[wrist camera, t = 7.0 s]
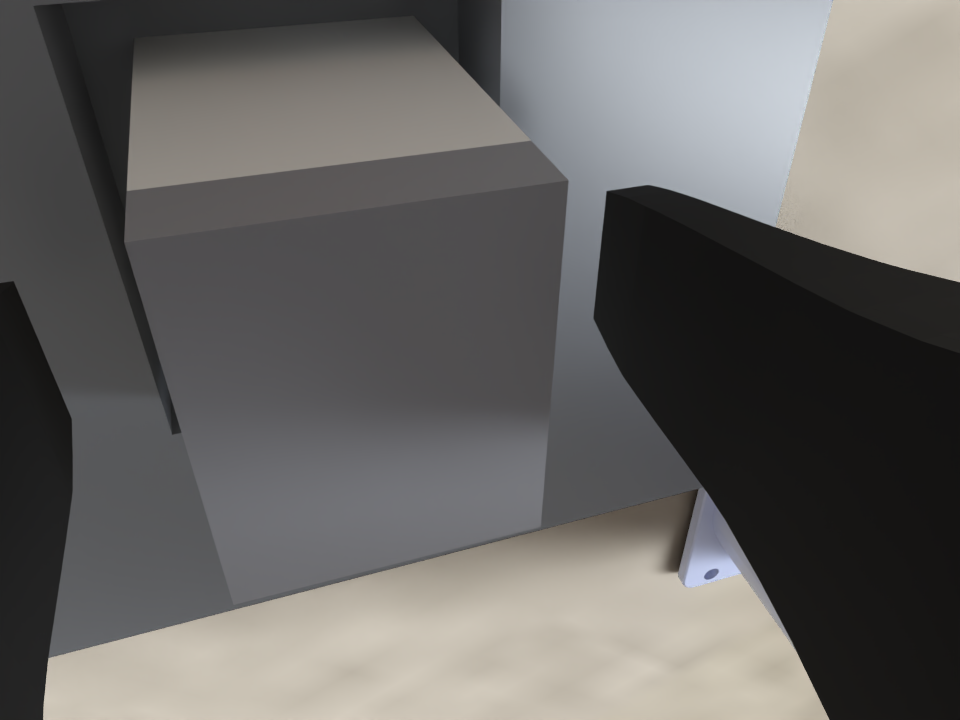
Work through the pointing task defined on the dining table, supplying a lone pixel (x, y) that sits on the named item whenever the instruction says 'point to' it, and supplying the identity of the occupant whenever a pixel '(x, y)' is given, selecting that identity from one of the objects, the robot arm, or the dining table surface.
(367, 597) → the dining table surface
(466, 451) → the grey rectangular block
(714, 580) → the robot arm
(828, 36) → the dining table surface
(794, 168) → the dining table surface
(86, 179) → the socket plate
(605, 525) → the dining table surface
